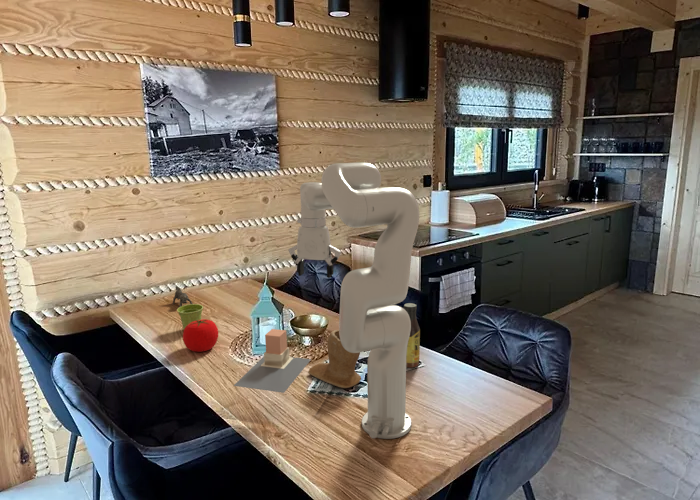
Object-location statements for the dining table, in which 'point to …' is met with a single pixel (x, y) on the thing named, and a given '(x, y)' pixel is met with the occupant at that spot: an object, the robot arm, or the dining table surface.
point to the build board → (273, 375)
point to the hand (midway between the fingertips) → (315, 275)
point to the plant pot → (190, 313)
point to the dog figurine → (181, 297)
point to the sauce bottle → (413, 337)
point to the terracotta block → (276, 341)
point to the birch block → (276, 358)
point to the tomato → (200, 335)
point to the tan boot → (337, 364)
